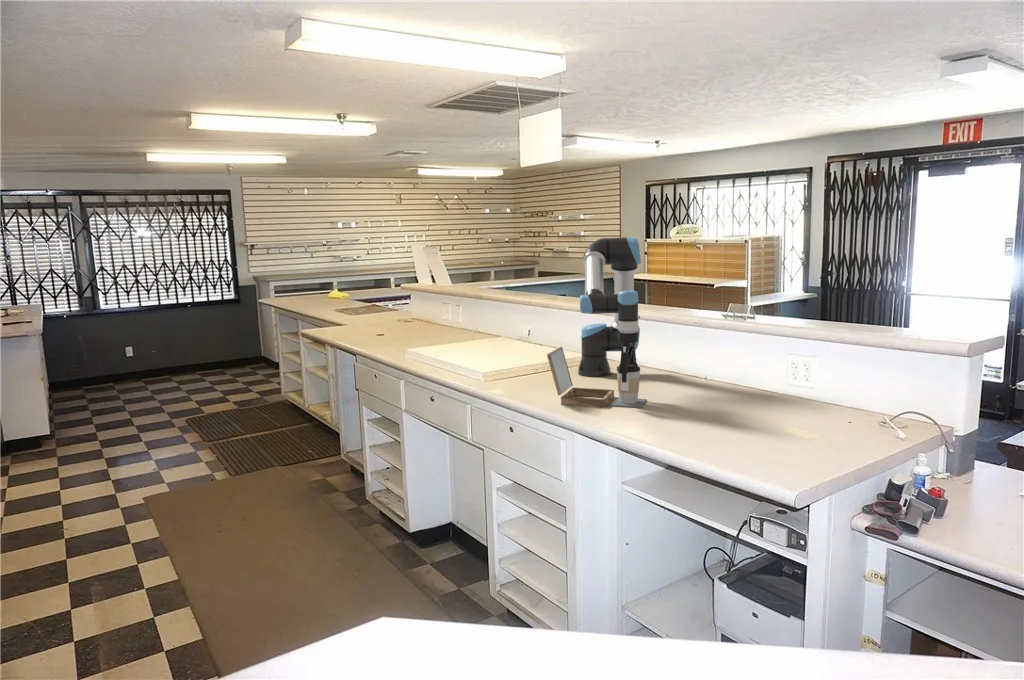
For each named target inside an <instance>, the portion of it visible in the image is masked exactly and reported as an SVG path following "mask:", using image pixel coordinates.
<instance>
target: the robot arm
mask: <svg viewBox="0 0 1024 680" xmlns="http://www.w3.org/2000/svg"><path fill="white" fill-rule="evenodd" d="M582 263H583V264H582V265H583V266H584V268H585V273H584V278H585V279H584V294H581V295H580V296H579V312H580V313H581V314H587V315H588V314H589V315H593V314H595V315H596V314H598V315H599V314H600V315H601V314H613V315H614V318H613V321H612V322H611V323H610V326H608V325H607V324H606V323H601V322H600V323H592V324H587V325H585V326H582V328H581V333H580V334H581V336H580V338H581V357H580V361H579V365H578V369H577V371H578V372H577V374H578V375H580V376H584V377H604V376H609V375H610V374H611V372H612V371H611V366H610V363H609V361H608V356H607V355H608V354H607V352H621V354H620V362H619V363H620V364H619V365H620V371H619V373H621V390H624V391H628V390H629V382H628V367H629V362H634V363H636V364H637V365H638V363H637V355H636V354H637V353H636V350H637V349H638V346H639V343H640V332H641V328H640V326H639V293H638V291H636V290H635V271H636V270H637V269H638V267H639V266H638V265H641V264H642V258H641V250H640V245H639V239H638V238H636V237H628V236H626V237H625V236H623V237H605V238H604V237H603V238H599V239H597V240H595V241H593V242H592V243H590V244H589V246H587V248H586V249H585V252H584V253H583V256H582ZM606 265H607V266H608V265H609V266H610V269H611V270H612V271H613V272H614V285H613V286H614V287H613V288H614V293H612V294H608V293H606V294H605V293H604V290H605V288H604V286H605V285H604V267H605V266H606Z"/></svg>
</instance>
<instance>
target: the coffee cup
mask: <svg viewBox="0 0 1024 680" xmlns="http://www.w3.org/2000/svg"><path fill="white" fill-rule="evenodd" d="M636 363H637V362H636ZM636 363H634V362H629V367H628V382H629V390H628V391H624V390H621V373H619V371H620V364H619V365H618V366H617V367H616V371H617V372H616V373H617V374H616V375H617V376H616V379H617V391H618V397H619V402H620V403H624V404H634V403H637V401H638V399H639V392H640V378H641V376H640V374H641V367H640V366H638V365H639V364H638V363H637V364H636Z"/></svg>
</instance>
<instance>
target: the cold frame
mask: <svg viewBox="0 0 1024 680" xmlns="http://www.w3.org/2000/svg"><path fill="white" fill-rule="evenodd" d="M575 396H578V397H575ZM582 396H583V397H582ZM593 396H595V397H597V398H595V397H594V398H593ZM591 397H592V398H591ZM614 398H615V389H607V388H590V387H589V388H588V387H572V388H571V389H568V390H567V392H566V393H563V395H561V397H560V403H561V404H560V405H561V406H573V407H588V406H591V407H590V408H603V407H604V408H605V407H606V406H607V405H608V404H609V403H610V402H612V401H613V400H614Z"/></svg>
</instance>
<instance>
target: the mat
mask: <svg viewBox="0 0 1024 680" xmlns="http://www.w3.org/2000/svg"><path fill="white" fill-rule="evenodd" d="M614 398H615V399H614ZM614 398H613V399H612V401H611V403H610V404H609V407H614V408H615V407H619V408H631V409H642V408H643V407H644V405H645V404H646V403H647V401H648V399H647V398H638V401H637V403H634V404H624V403H620V402H619V396H618V397H617V396H616V397H614Z"/></svg>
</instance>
